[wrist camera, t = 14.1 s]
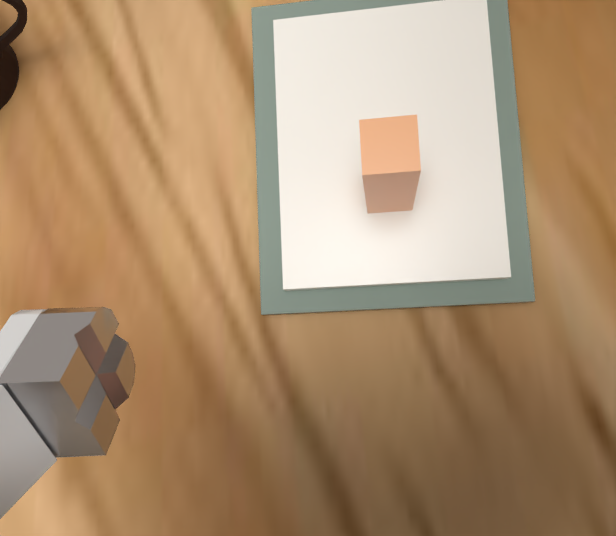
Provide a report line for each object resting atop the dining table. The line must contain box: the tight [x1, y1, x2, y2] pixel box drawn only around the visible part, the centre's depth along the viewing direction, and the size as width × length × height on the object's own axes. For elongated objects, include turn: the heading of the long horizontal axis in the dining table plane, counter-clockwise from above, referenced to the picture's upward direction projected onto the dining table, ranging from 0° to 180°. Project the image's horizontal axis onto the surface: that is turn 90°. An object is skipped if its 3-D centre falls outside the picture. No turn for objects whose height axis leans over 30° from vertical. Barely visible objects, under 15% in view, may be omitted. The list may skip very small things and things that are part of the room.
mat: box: [252, 0, 535, 315], centre depth 35 cm, size 20×16×1 cm
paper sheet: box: [273, 0, 511, 291], centre depth 30 cm, size 17×13×9 cm
